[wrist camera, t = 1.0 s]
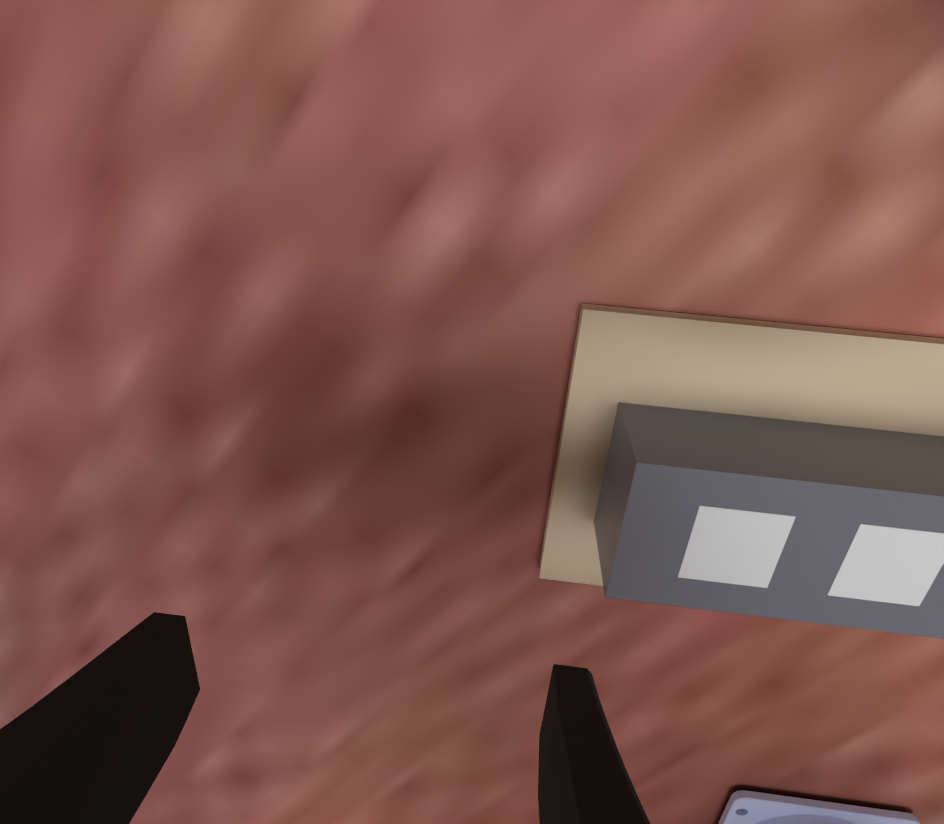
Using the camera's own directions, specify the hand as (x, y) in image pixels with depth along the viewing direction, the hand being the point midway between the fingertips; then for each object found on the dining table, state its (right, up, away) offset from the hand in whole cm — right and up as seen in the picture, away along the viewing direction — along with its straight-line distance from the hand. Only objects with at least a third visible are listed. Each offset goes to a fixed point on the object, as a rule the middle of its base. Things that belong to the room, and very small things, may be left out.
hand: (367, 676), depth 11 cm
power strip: (+13, +3, +7) cm, 15 cm away
